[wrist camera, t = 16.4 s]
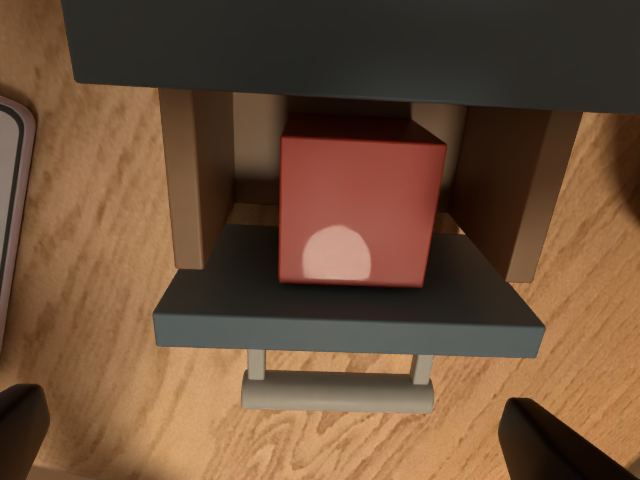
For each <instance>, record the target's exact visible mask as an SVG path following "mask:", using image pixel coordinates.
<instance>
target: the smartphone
mask: <svg viewBox="0 0 640 480" xmlns="http://www.w3.org/2000/svg"><path fill="white" fill-rule="evenodd" d="M35 129H36V124H35V119H34V116H33V115H32V113H31V112H30V111H29V110H28V109H27V108H26V107H25V106H23V105H22V104H20V103H18V102H16V101H13V100H10V99H8V98H5V97H3V96H0V354H1V348H2V342H3V335H4V329H5V322H6V316H7V309H8V303H9V297H10V290H11V284H12V277H13V271H14V265H15V258H16V252H17V245H18V239H19V232H20V226H21V220H22V213H23V207H24V200H25V194H26V187H27V181H28V175H29V168H30V162H31V155H32V149H33V143H34V136H35Z"/></svg>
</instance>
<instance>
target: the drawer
mask: <svg viewBox="0 0 640 480" xmlns="http://www.w3.org/2000/svg"><path fill="white" fill-rule="evenodd" d="M158 91H159V101H160V112H161V123H162V133H163V144H164V154H165V165H166V175H167V186H168V196H169V207H170V218H171V228H172V239H173V249H174V260H175V267H176V268H177V269H179V270H178V271H177V273H176V275H175V276H174V278H173V280H172V281H171V283H170V285H169V286H168V288H167V290H166V291H165V293H164V295H163V296H162V298H161V300H160V301H159V303H158V305H157V306H156V308H155V310H154V312H153V314H152V315H153V322H154V330H155V338H156V345H157V346H162V347H193V348H225V349H247V353H248V369H247V370H245V372H244V375H243V381H242V391H241V405H242V408H243V409H260V410H298V411H337V412H375V413H413V414H429V413H431V412H432V409H433V405H434V390H433V385H432V381H431V379H430V373H431V368H432V363H433V358H434V355H444V356H476V357H507V358H536V356H537V353H538V350H539V347H540V344H541V341H542V338H543V335H544V332H545V329H546V328H545V325H544V324H543V323H542V322H541V320H540V319H539V318H538V317H537V316H536V315H535V313H534V312H533V311H532V310H531V309H530V307H529V306H528V305H527V304H526V303H525V301H524V300H523V299H522V298H521V297H520V296H519V294H518V293H517V292H516V291H515V290H514V288H513V287H512V286H511V285H510V284H509V282H517V283H532V281H533V278H534V275H535V271H536V268H537V265H538V261H539V258H540V255H541V251H542V248H543V245H544V241H545V238H546V235H547V231H548V228H549V225H550V221H551V218H552V215H553V211H554V208H555V205H556V201H557V198H558V195H559V191H560V188H561V185H562V181H563V178H564V175H565V171H566V168H567V165H568V161H569V158H570V155H571V151H572V148H573V145H574V141H575V138H576V134H577V131H578V128H579V124H580V121H581V118H582V114H583V112H575V111H557V110H540V109H522V108H504V107H487V106H469V105H451V104H434V103H416V102H398V101H381V100H363V99H345V98H328V97H310V96H292V95H275V94H257V93H239V92H222V91H204V90H186V89H169V88H158ZM290 112H297V113H316V114H335V115H354V116H373V117H392V118H410V119H412V120H414V121H415V122H417V123H418V124H419V125H421V126H422V127H424V128H425V129H427V130H428V131H429V132H431V133H432V134H434V135H435V136H436V137H438V138H439V139H441V140H442V141H443V142H445V143H446V144H447V146H448V147H447V153H446V159H445V164H444V170H443V176H442V181H441V187H440V193H439V198H438V204H437V210H436V212H441V213H449V215H450V216H451V217H452V218H453V220H454V221H455V222H456V223H457V224H458V226H459V227H460V228H461V229H462V230H463V232H464V233H465V234H466V235H463V234H441V233H432V238H431V243H430V249H429V255H428V260H427V266H426V272H425V277H424V283H423V287H422V288H401V287H373V286H346V285H318V284H291V283H279V281H278V248H279V226H258V225H235V224H226V222H227V219H228V217H229V215H230V213H231V211H232V209H233V207H234V205H235V203H245V204H266V205H279V183H280V137H281V134H282V131H283V128H284V125H285V122H286V119H287V116H288V114H289V113H290ZM266 350H288V351H319V352H350V353H382V354H413V358H412V364H411V369H410V374H386V373H353V372H319V371H286V370H266Z"/></svg>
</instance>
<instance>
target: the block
mask: <svg viewBox="0 0 640 480" xmlns="http://www.w3.org/2000/svg"><path fill="white" fill-rule="evenodd" d="M447 147H448V146H447V144H446V143H445V142H443V141H442V140H441V139H439V138H438V137H436V136H435V135H434V134H432V133H431V132H429V131H428V130H427V129H425V128H424V127H422V126H421V125H419V124H418V123H417V122H415V121H414V120H412V119H410V118H392V117H373V116H354V115H335V114H316V113H297V112H290V113H289V114H288V116H287V119H286V122H285V125H284V128H283V131H282V134H281V137H280V183H279V248H278V281H279V283H291V284H318V285H346V286H373V287H401V288H422V287H423V283H424V277H425V272H426V266H427V260H428V255H429V249H430V243H431V238H432V232H433V226H434V221H435V215H436V210H437V204H438V198H439V193H440V187H441V181H442V176H443V170H444V164H445V159H446V153H447Z"/></svg>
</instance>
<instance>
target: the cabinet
mask: <svg viewBox="0 0 640 480" xmlns="http://www.w3.org/2000/svg"><path fill="white" fill-rule="evenodd" d="M61 4H62V10H63V16H64V22H65V28H66V34H67V40H68V46H69V51H70V57H71V63H72V69H73V75H74V80H75V82H77V83H80V84H98V85H116V86H133V87H151V88H169V89H186V90H204V91H222V92H239V93H257V94H275V95H292V96H310V97H328V98H345V99H363V100H381V101H398V102H416V103H434V104H451V105H469V106H487V107H504V108H522V109H540V110H557V111H575V112H593V113H611V114H628V115H640V0H61Z"/></svg>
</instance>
